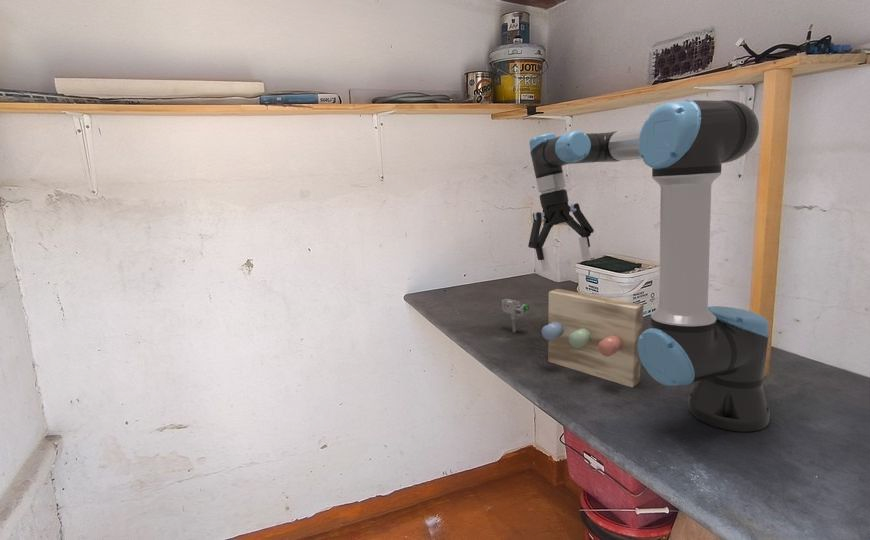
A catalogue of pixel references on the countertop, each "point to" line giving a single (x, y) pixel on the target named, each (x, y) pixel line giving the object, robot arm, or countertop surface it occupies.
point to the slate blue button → (552, 331)
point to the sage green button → (580, 338)
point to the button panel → (596, 335)
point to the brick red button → (610, 345)
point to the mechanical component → (514, 310)
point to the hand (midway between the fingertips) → (566, 265)
